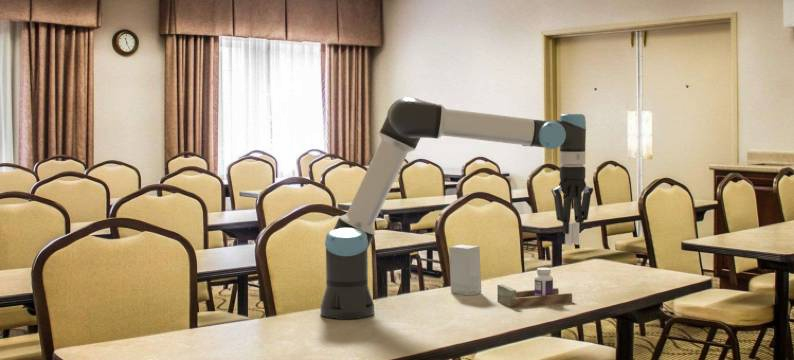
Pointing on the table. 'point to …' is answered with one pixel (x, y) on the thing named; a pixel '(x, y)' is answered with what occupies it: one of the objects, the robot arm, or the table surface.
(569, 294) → the rail
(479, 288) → the skincare box
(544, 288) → the pill bottle
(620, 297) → the table surface
